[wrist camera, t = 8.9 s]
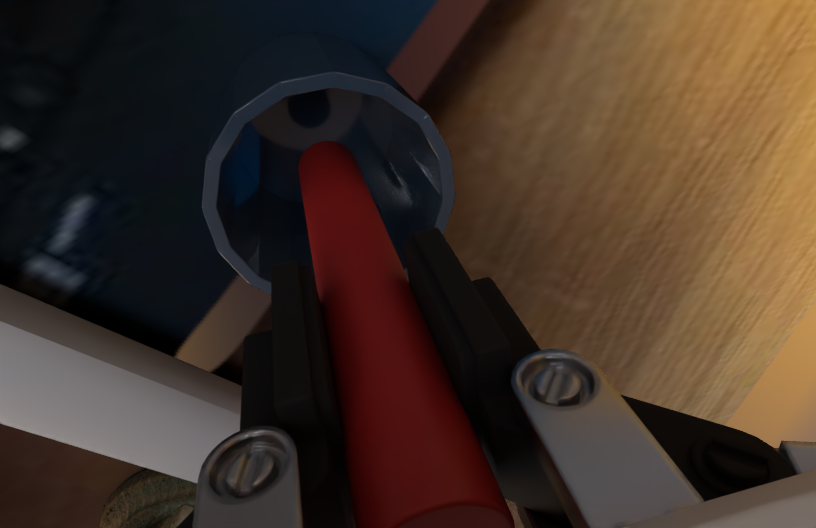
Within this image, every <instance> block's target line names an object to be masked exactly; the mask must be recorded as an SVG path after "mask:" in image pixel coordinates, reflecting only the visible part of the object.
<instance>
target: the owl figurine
mask: <svg viewBox="0 0 816 528" xmlns="http://www.w3.org/2000/svg"><path fill="white" fill-rule="evenodd" d="M196 491H197V483H194V482H191V481H188V480H185V479H181V478H178V477H175V476H171V475H168V474H165V473H162V472H158V471H155V470H152V469H147V470H144V471H141V472H140V473H138V474H136V475H133V476H132V477H131V478H129V479H128V480H126V482H124V483H123V484H122V485H121V486H120V487H119V488H117V490H116V491H114V492H113V494H111V496H110V498H109V500H108V501H107V502H106V505H104V510H103V513H102V517H101V522H100V528H177V526H178V525H179V524H180V523H181V522H182V521H183V520H184V519H185V518H186V517H187V516H188V515H189V514H190V513H191V512H192V511H193V510H194V508H195V499H196ZM353 520H354V518H353ZM354 526H355V524H354Z"/></svg>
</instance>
